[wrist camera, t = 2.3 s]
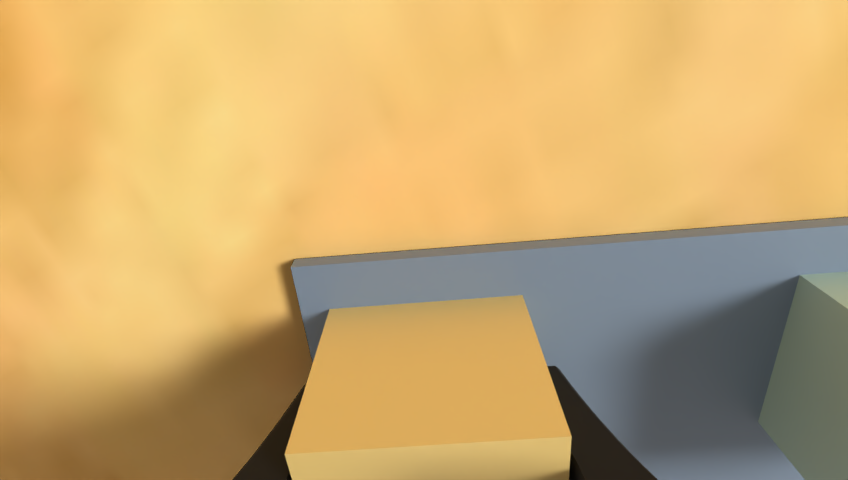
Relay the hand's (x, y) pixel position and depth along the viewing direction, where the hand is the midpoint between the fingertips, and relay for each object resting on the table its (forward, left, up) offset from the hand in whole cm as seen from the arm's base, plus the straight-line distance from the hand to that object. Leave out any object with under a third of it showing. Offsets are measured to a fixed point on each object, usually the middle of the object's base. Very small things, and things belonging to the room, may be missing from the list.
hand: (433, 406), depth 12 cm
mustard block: (0, 0, -1) cm, 1 cm away
